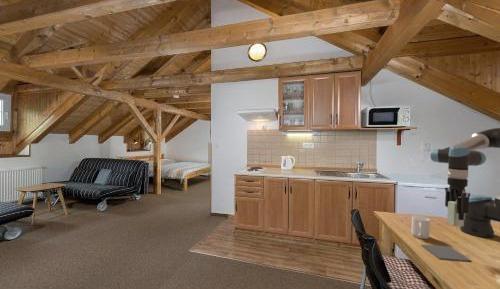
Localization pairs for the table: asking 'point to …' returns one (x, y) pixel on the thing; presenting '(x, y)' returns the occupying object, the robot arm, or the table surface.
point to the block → (452, 213)
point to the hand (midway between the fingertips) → (455, 223)
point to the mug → (420, 227)
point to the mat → (445, 253)
